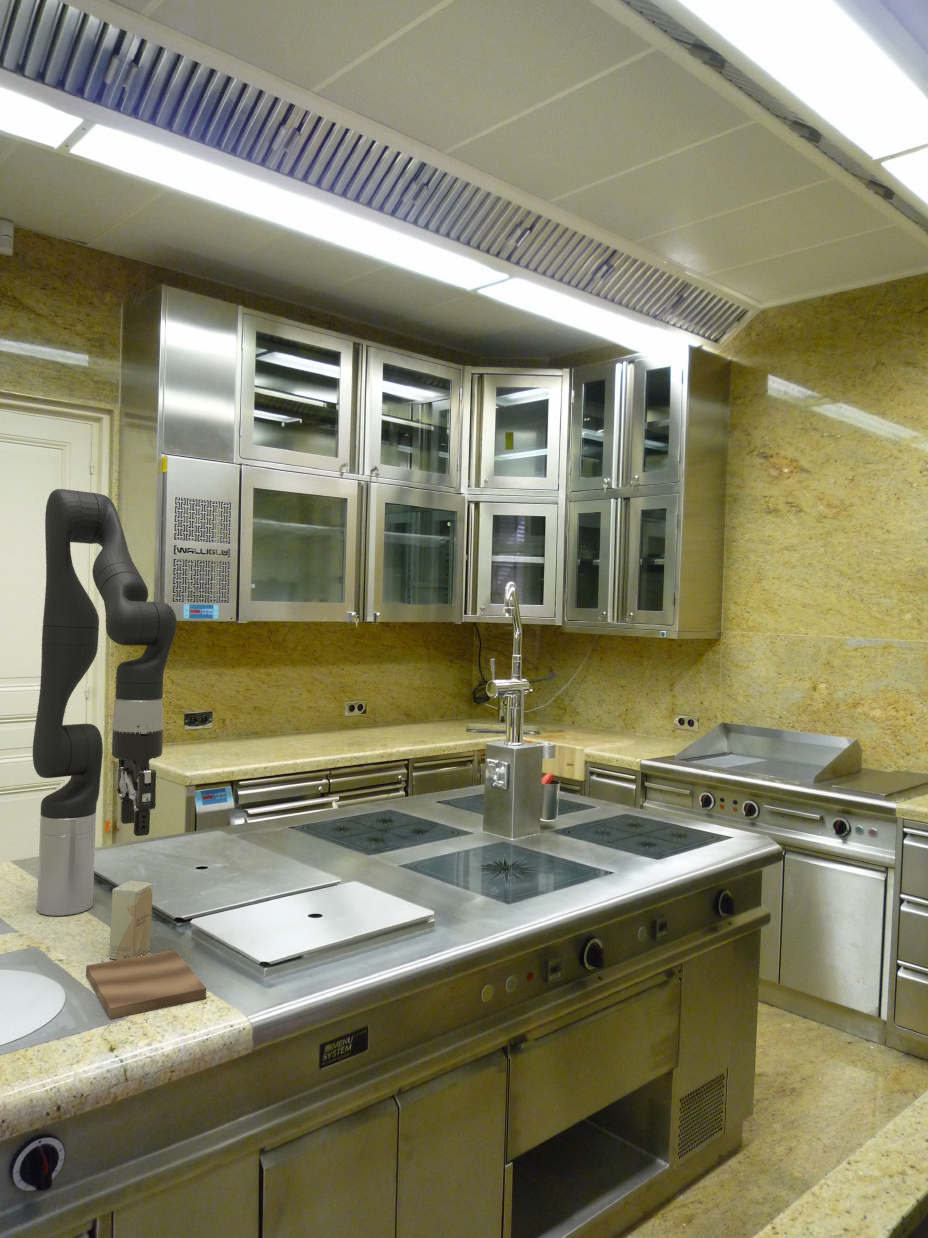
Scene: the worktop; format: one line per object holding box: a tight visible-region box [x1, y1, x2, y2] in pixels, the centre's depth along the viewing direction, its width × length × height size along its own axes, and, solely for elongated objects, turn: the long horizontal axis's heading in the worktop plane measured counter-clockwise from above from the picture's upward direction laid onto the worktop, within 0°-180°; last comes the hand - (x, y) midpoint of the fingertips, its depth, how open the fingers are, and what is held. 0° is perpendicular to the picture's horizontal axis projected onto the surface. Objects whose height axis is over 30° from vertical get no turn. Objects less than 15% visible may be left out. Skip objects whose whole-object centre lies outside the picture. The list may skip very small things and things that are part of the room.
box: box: [108, 880, 154, 960], centre depth 140 cm, size 5×4×11 cm
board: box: [85, 949, 207, 1020], centre depth 128 cm, size 16×13×2 cm
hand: (134, 829), depth 140 cm, fingers open, 8 cm apart
